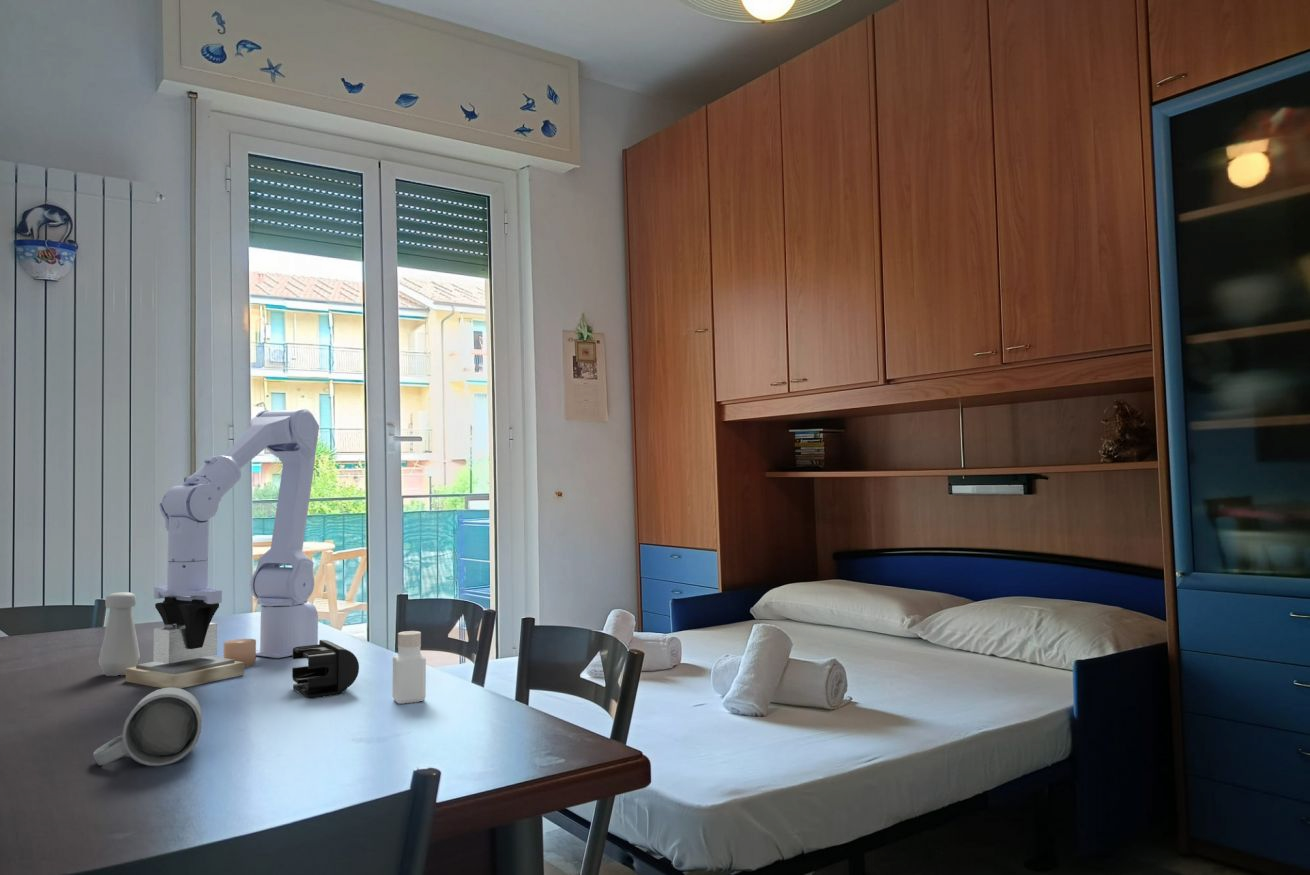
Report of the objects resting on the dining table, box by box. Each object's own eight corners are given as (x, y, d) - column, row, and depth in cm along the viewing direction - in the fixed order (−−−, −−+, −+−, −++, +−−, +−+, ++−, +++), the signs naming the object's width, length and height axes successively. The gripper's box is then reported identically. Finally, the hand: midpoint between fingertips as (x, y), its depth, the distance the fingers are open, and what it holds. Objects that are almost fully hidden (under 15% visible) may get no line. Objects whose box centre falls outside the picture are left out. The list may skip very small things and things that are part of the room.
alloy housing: (201, 652, 147) (202, 617, 148) (216, 654, 146) (217, 619, 146) (153, 661, 141) (154, 624, 141) (168, 663, 139) (169, 626, 139)
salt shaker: (125, 677, 144) (127, 595, 144) (89, 677, 144) (91, 595, 145) (146, 669, 150) (148, 590, 150) (112, 669, 150) (114, 590, 150)
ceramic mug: (202, 742, 108) (202, 677, 108) (201, 761, 100) (201, 691, 101) (98, 756, 103) (98, 688, 103) (89, 777, 96) (89, 703, 96)
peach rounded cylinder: (243, 661, 157) (243, 637, 157) (261, 663, 154) (262, 640, 155) (216, 666, 153) (217, 642, 153) (235, 669, 150) (236, 644, 150)
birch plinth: (197, 667, 151) (197, 652, 151) (243, 674, 145) (244, 659, 145) (125, 681, 141) (125, 665, 141) (172, 689, 135) (172, 673, 135)
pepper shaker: (391, 699, 128) (392, 631, 129) (420, 696, 130) (420, 629, 131) (397, 705, 125) (398, 636, 125) (426, 702, 127) (427, 633, 127)
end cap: (359, 693, 133) (359, 646, 133) (309, 700, 128) (309, 652, 129) (339, 681, 141) (339, 637, 141) (291, 687, 137) (291, 642, 137)
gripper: (136, 560, 144) (134, 646, 143) (192, 564, 137) (190, 655, 136) (178, 557, 150) (176, 640, 149) (234, 560, 143) (233, 647, 142)
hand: (186, 646), depth 143 cm, fingers closed on alloy housing, 4 cm apart
